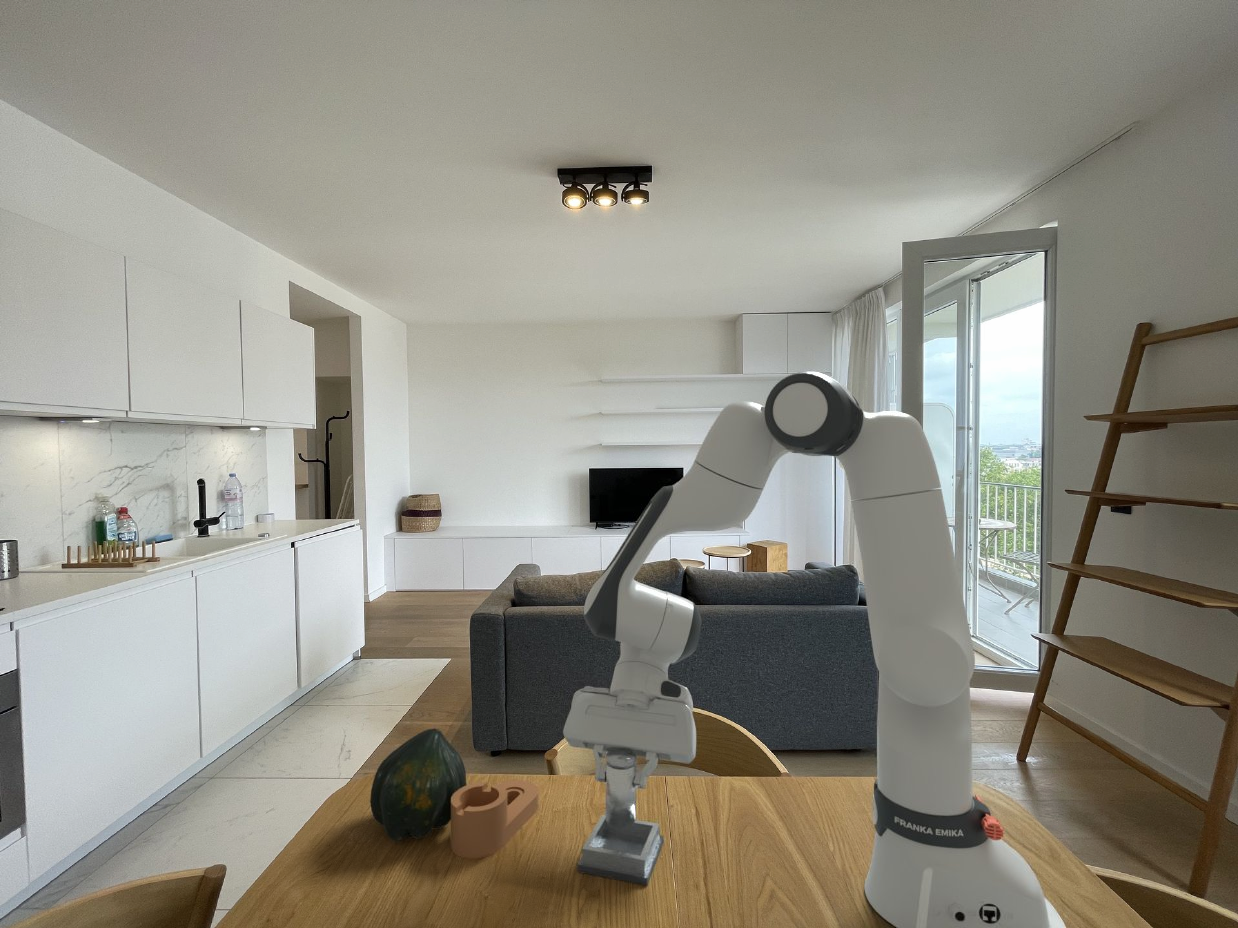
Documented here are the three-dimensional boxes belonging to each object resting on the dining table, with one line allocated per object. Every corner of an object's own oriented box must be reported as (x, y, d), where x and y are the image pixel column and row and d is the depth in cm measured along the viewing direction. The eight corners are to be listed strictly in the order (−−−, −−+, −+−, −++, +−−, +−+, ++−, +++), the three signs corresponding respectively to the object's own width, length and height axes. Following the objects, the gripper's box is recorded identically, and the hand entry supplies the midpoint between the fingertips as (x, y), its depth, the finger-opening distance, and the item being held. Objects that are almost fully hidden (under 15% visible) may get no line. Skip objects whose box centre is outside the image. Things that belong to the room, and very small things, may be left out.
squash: (337, 818, 89) (409, 736, 90) (369, 772, 104) (430, 702, 105) (411, 881, 89) (481, 798, 91) (433, 826, 104) (493, 756, 106)
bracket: (487, 864, 87) (487, 815, 87) (439, 851, 90) (439, 804, 90) (547, 801, 104) (547, 760, 104) (504, 792, 107) (504, 752, 107)
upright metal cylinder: (639, 812, 91) (639, 750, 91) (631, 828, 86) (631, 764, 86) (610, 807, 92) (611, 746, 92) (601, 823, 88) (602, 759, 88)
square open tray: (663, 842, 92) (663, 822, 92) (647, 885, 83) (647, 862, 83) (600, 831, 95) (600, 811, 95) (577, 871, 86) (577, 849, 86)
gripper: (571, 675, 99) (547, 764, 89) (698, 689, 93) (686, 786, 83) (581, 693, 103) (558, 780, 94) (702, 708, 97) (691, 802, 88)
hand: (619, 783), depth 88 cm, fingers closed on upright metal cylinder, 4 cm apart
